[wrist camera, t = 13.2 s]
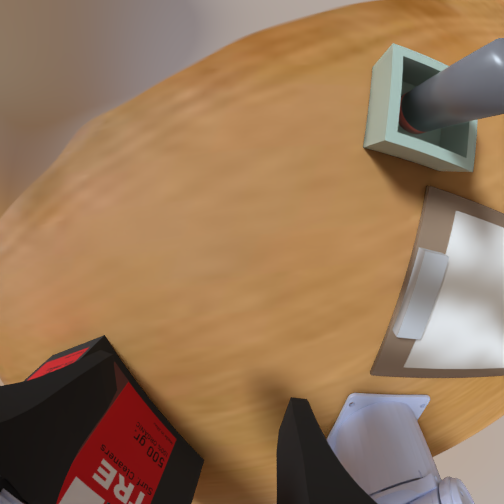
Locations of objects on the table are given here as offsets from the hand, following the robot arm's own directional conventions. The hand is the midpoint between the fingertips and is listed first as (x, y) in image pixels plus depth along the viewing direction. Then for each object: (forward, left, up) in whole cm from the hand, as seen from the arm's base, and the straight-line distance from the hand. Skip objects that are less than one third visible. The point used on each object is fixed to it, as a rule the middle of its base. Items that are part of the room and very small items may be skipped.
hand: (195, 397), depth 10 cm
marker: (+14, -9, -9) cm, 19 cm away
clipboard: (+3, -20, -9) cm, 22 cm away
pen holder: (+14, -9, -9) cm, 19 cm away
